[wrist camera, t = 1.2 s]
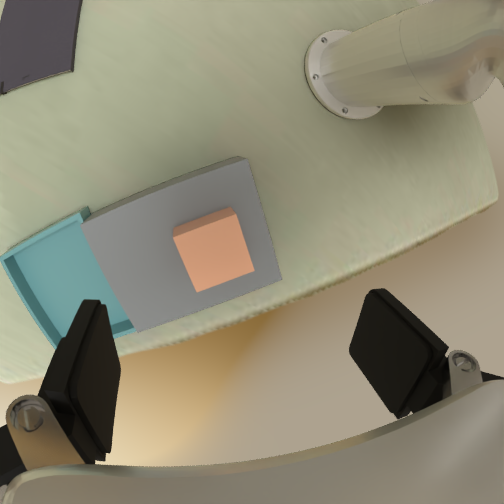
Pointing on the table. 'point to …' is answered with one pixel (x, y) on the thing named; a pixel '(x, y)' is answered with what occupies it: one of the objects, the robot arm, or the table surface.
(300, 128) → the table surface
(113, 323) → the tray
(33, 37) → the notebook
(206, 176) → the slate bench plate
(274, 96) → the table surface
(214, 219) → the terracotta block
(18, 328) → the table surface
